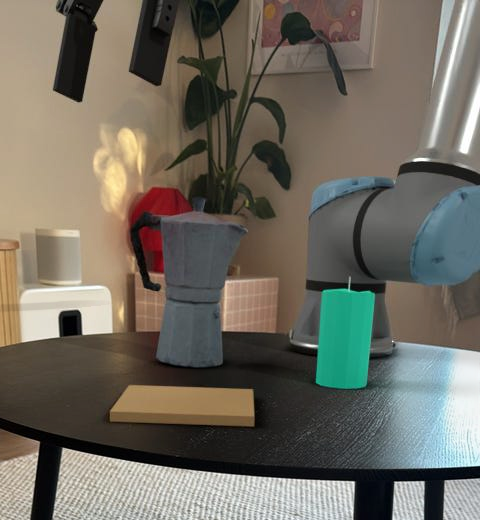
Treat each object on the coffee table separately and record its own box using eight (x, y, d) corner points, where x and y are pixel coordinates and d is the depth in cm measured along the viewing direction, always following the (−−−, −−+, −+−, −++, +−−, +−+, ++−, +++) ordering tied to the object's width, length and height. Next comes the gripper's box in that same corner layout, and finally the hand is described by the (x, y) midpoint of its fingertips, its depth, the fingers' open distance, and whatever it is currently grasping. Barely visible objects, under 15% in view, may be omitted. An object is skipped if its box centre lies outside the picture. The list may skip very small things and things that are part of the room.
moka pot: (236, 372, 93) (241, 196, 85) (117, 364, 95) (113, 192, 88) (251, 360, 101) (257, 199, 94) (141, 353, 104) (139, 196, 97)
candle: (355, 390, 85) (366, 279, 80) (307, 384, 87) (314, 275, 83) (374, 382, 89) (384, 277, 85) (327, 376, 92) (335, 274, 88)
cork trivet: (252, 398, 79) (253, 389, 79) (254, 426, 68) (254, 416, 67) (129, 394, 79) (128, 384, 79) (109, 421, 68) (109, 411, 67)
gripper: (48, -164, 68) (5, 85, 72) (213, -297, 50) (143, 45, 54) (118, -113, 73) (74, 117, 77) (292, -217, 55) (223, 91, 59)
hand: (103, 88), depth 65 cm, fingers open, 13 cm apart
